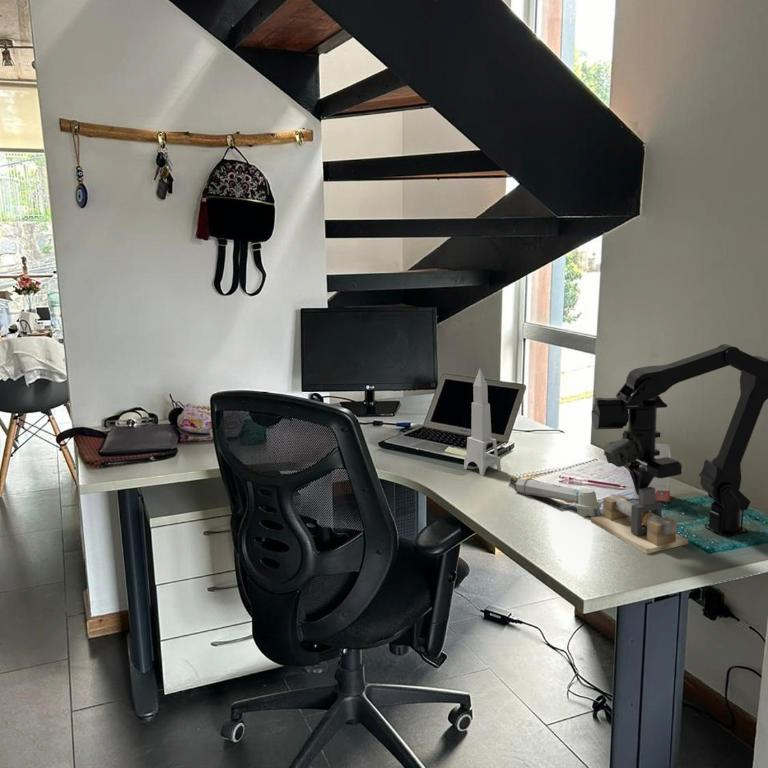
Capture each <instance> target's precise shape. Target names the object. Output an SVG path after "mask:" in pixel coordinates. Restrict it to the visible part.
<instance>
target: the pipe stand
mask: <svg viewBox="0 0 768 768" xmlns="http://www.w3.org/2000/svg"><path fill="white" fill-rule="evenodd" d="M602 500H603V501H602V503H603V504H602V515H599V516H595V517H590V523H592V524H594V525H596V526H598V527H599V528H601V529H603V530H604V531H605V532H608V533H610V534H611V535H613V536H615V537H617V538H618V539H620V540H622V541H623V542H625V543H627V545H628V544H629V545H631V546H632V547H634V548H636V549H637V550H639V551H640V552H643V553H644V554H646V555H647V554H652V553H655V552H661V551H664V550H667V549H672V548H676V547H681V546H686V545H688V544H689V539H688V538H687V537H684V536H682V535H680V534H678V533H677V521H676V520H674V519H672V518H671V517H668V516H664V517H662V516H661V517H659V516H657V515H655V514H654V513H652V512H651V511H646V512H642V525H645V526H647V534H643V535H638V536H637V535H635V534H633V533H631V512H632V505H634V504H635V503H633V502H631V501H630V498H629V497H627V496H625V495H623V494H617V495H616V494H613V493H611V494H610V495H609V496H606V497H603V499H602Z"/></svg>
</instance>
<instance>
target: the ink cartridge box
mask: <svg viewBox="0 0 768 768" xmlns="http://www.w3.org/2000/svg"><path fill="white" fill-rule="evenodd" d="M670 449H671V446H670V444H661V443H656V450H659V451H660V455H658V456H655V458H658V459H659V458H665V457H668V458H671V451H670ZM648 487H653V488H655V500H656V501H659V502H666V503H669V502H670V499H671V498H670V494H671V493H670V492H671V477H666V478H657V477H654V478H653V479H652V481H651V483H650V484H649V486H648ZM633 499H634V500H639V495H637V493H636V489H635V486H634V485H633Z"/></svg>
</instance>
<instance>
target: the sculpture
mask: <svg viewBox="0 0 768 768" xmlns="http://www.w3.org/2000/svg"><path fill="white" fill-rule="evenodd" d="M472 387H473V389H472V391H473V392H472V393H473V402H471V422H470V423H471V425H470V426H471V430H470V431H471V436H467V439H466V454H464V462H463V469H465V470H467V468H468V465H469V463H471V462H472V463H475V464H476V466H477V467H478V469H479V476H483V477H485V474H486V470H487V468H488V467H489V466H491V465H495V466H496V467H497V470H498V471H499V472H501V471H502V469H501V468H502V467H501V457H499V455H498V445H497V444H498V443H497V439H496V438H492V423H491V419H492V417H491V404H490V403H489V402H488V401H489V399H488V397H489V394H488V383H487V381H486V379H485V377H484V373H483V372H482V369H481V368H478V372H477V375H476V377H475V380H474V382H473V385H472ZM488 444H492V446H493V453H494V454H491V453H489V452H487V451H486V450H487V445H488Z"/></svg>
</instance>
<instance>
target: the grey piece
mask: <svg viewBox="0 0 768 768" xmlns="http://www.w3.org/2000/svg"><path fill="white" fill-rule="evenodd" d="M514 481H515V482H514V483H513V486H514V489H513V490H514V491H515V492H516V493H519V494H520V493H521V494H523V495H526V496H535V497H543V498H548V499H554V500H561V501H568V502H573V503H574V507H575V508H576V510H577V515H579V516H580V517H583V518H586V517H587V516H588V517H589V516H590V518H592V517H597V516H601V506H602V503H601V501H599V500H598V499H597V495H596V494H597V493H596V492H595V490H594V489H589V488H584V489H583V488H582V489H577V488H572V487H567V486H562V485H560V484H559V485H558V484H554V483H551V482H550V483H549V482H544V481H540V480H537V479H534V478H532V477H528V478H523V477H519V478H516V479H515V480H514Z"/></svg>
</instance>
